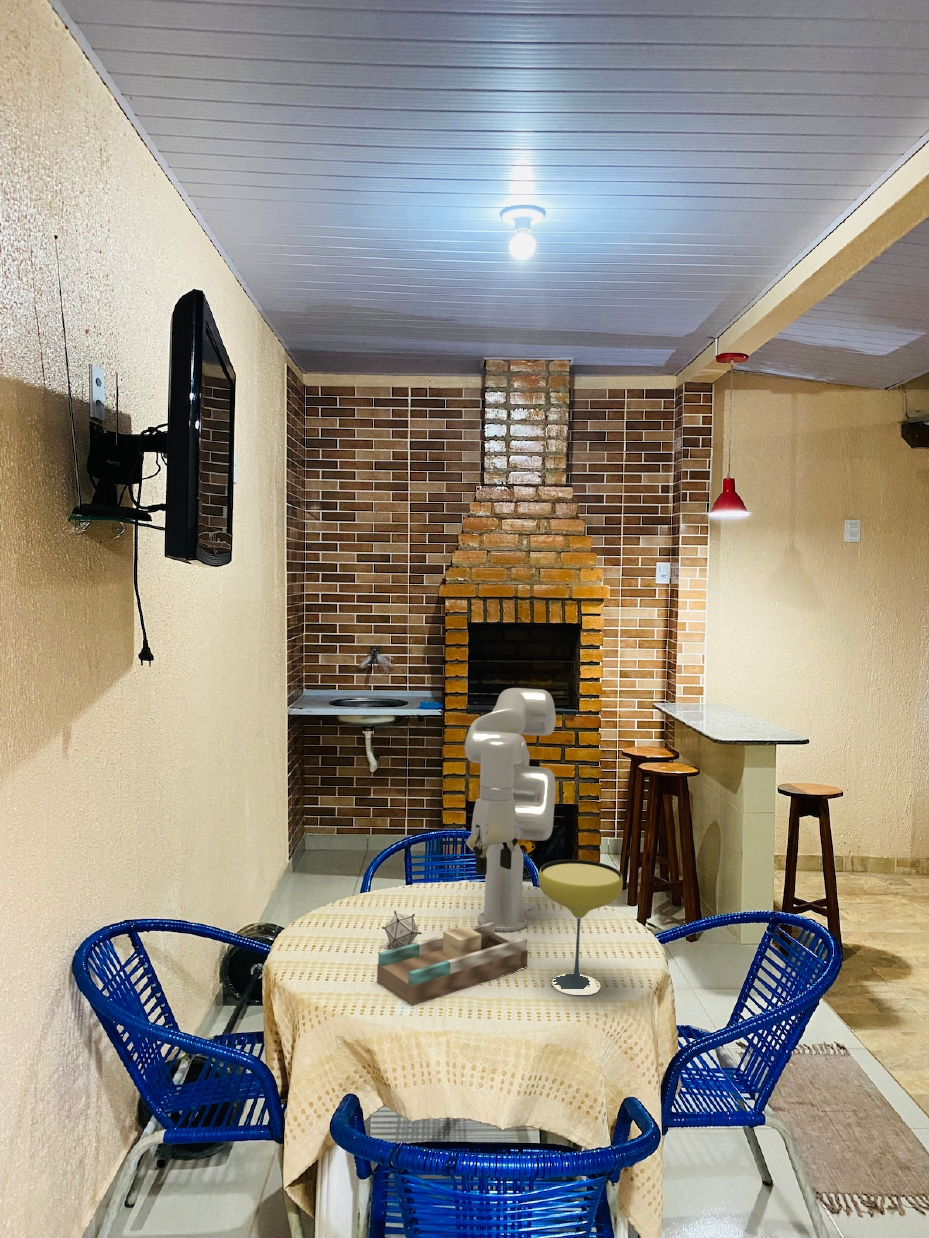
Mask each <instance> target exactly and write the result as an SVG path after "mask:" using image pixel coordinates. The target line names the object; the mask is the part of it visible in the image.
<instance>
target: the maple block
mask: <svg viewBox="0 0 929 1238" xmlns="http://www.w3.org/2000/svg"><path fill="white" fill-rule="evenodd" d="M470 928H471V927H468V926H465V925H463V926H459V927H455V928H452V929H448V930H443V933H442V934H443V935H442V936H443V954H444V955H446V956H448V957H450V958H451V959H454V958H457V957H460V956H464V955H467V954H470V953H474V952H477V951H480V950H481V934H479V933H478V932H476V931H474V930H472V929H470Z"/></svg>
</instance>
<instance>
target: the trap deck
mask: <svg viewBox="0 0 929 1238" xmlns="http://www.w3.org/2000/svg"><path fill="white" fill-rule="evenodd" d="M469 928H470V929H472V930H474V931H476V932H478V933H479V934H481V950H480V951H477V952H474V953H470V954H467V955H464V956H460V957H457V958H454V959H451V958H450V957H448V956H446V955H444V954H443V935H440V936H436V937H432V938H429V939H425V940H421V941H418V942H414V943H411V944H410V945H407V946H403V947H400V946H398V947H395V948H393V949H389V950H384V951H382V952H378V958H377V959H378V960H377V961H378V962H377V965H376V966H377V968H376V969H377V970H376V975H377V977H376V983H377V984H379V985H381V986H382V987H383V988H385V990H388V991H389V992H390V993H392V994H394V995H395V996H396V997H398V998H399V999H402V1000H403V1001H404V1002H406V1003H408V1004H409V1005H410V1006H415V1005H418V1004H421V1003H425V1002H427V1001H431V1000H433V999H436V998H439V997H443V996H446V995H449V994H452V993H454V992H458V991H461V990H464V989H467V988H470V987H473V986H476V985H479V984H482V983H481V982H483V983H485V981H486V982H488V980H489V981H491V980H490V979H492V980H495V979H498V978H500V976H501V977H503V976H502V975H504V976H506V974H507V975H509V974H508V973H510V974H512V973H511V972H513V973H515V972H514V971H516V972H518V971H517V970H519V969H521V968H525V967H527V968H528V958H529V957H528V955H529V952H528V951H529V950H528V938H525V937H521V938H517V939H515V940H511V941H510V940H508V939H506V938H504V937H501V936H499V935H498V934H496V931H495V923H493V922H490V923H486V924H483V925H480V924H479V925H476V926H472V927H469ZM525 969H526V968H525ZM519 971H520V970H519ZM494 978H495V979H494ZM478 983H479V984H478Z"/></svg>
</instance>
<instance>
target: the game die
mask: <svg viewBox="0 0 929 1238" xmlns="http://www.w3.org/2000/svg"><path fill="white" fill-rule="evenodd" d="M393 914H394V915H393V916H392V917H391V919H390V920H389V921H388V922H387V924H386V925H385V926H382V927H380V928H381V929H382V930H385V933H386V935H387V938H388V941H389V944H388V949H389V948H391V947H392V946H396V947H403V946H407V945H410V944H413V941H414V940H415V939H416V937H417V936H418V935H422V931H419V930H418V927H417V925H416V922H415V919H414V917H415V916H416V914H415V913H413V914H412V915H408V914H407V915H406V914H400V913H397V911H396V910H394V911H393Z"/></svg>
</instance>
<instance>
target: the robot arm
mask: <svg viewBox="0 0 929 1238" xmlns="http://www.w3.org/2000/svg"><path fill="white" fill-rule="evenodd" d="M554 702H555V701H554V699H553V697H552V694H551V693H549V691H547V690H545V689H539V688H525V687H511V688H507V689H504V690H502V692H501V693H500V694H499V696H498V698H497V701H496V704H495V706H494V707H493V709H492V711H491V712H489V713H486V714H484V715H481V716H480V717H477V719H474V721H473V722H472V723H471V725H470V727H469V728H468V729H469V730H468V731H467V735H466V738H465V742H464V753H465V756H466V758H467V760H468V761H469V762H471V763H475V764H480V772H479V773H480V777H479V798H476V800H475V804H474V807H473V812H472V821H471V829H470V830H471V832H470V833H471V834H470V835H469V837H468V838H467V839H466V841H465V844H466V845H467V847H468V848H469V849H470V850H471V852H472V853H473V855H474V856H475V873H477V874H479V875H481V876H484V877H485V878H484V879H485V880H484V905H483V906H484V907H483V912H481V913H480V914H478V916H477V923H478V924H479V925H483V924H486V923H490V922H493V923H495V932H515V931H519V930H522V929H524V928H525V927H526V926H527V924H528V918H527V917H526V915H525V914H526V913H527V912H530V911H533V910H535V909H536V905H535V903H534V902H533V901H531V902H527V903H525V902H524V901H523V880H524V879H523V878H524V877H523V876H524V874H523V873H524V854H523V851H522V849H521V847H520V845H519V844H518V842H519V840H527V841H546V840H548V839H549V838H551V837H550V836H551V835H552V832H553V829H554V828H553V827H554V816H555V815H554V814H555V803H556V780H555V779H556V777H555V774H554V773H553V771H552V769H550V768H547V767H541V766H534V765H533V766H530V759H531V758H530V757H531V756H530V755H531V754H530V751H529V750H528V747H527V741H526V740H525V738H524V737H523V736H522V735H524V736H525V735H527V736H541V737H543V736H544V737H545V736H550V735H551V734H553V732H554V731H555V727H556V722H557V716H556V708H555V703H554Z"/></svg>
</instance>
